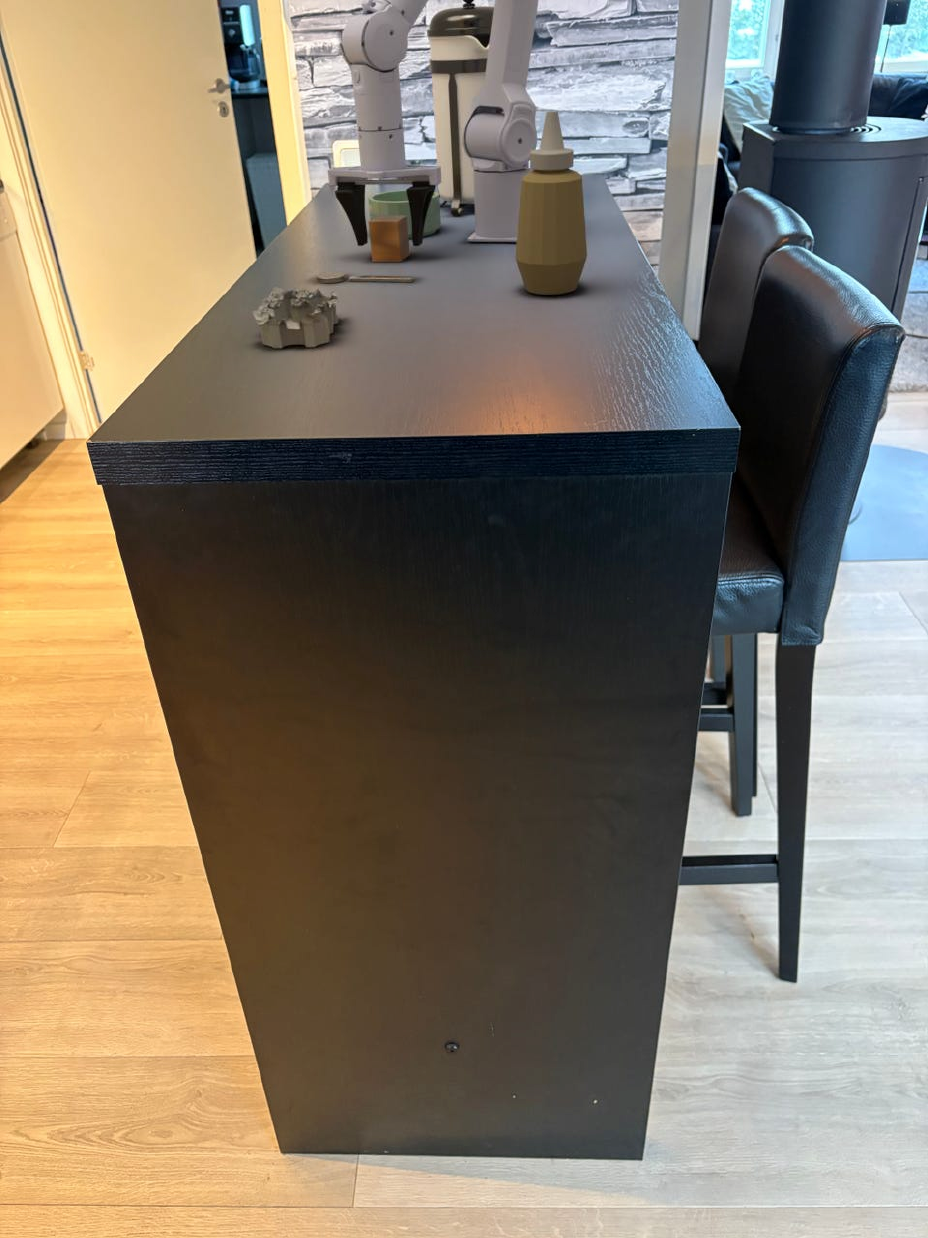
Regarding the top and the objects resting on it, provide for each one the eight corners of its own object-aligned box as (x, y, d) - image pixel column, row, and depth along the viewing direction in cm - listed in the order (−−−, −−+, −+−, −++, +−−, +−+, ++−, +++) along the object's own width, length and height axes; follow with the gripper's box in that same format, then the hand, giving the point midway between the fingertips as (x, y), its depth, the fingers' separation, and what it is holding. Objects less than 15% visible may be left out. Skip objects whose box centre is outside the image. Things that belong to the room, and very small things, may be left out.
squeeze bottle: (593, 282, 108) (598, 106, 99) (577, 300, 102) (581, 115, 92) (526, 279, 111) (525, 107, 101) (507, 297, 105) (503, 116, 95)
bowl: (448, 225, 141) (446, 189, 138) (430, 239, 132) (427, 201, 130) (384, 225, 143) (381, 189, 140) (362, 239, 135) (358, 202, 132)
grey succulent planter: (327, 349, 92) (321, 306, 90) (252, 350, 92) (245, 308, 90) (346, 317, 101) (341, 278, 98) (278, 319, 101) (272, 280, 99)
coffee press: (541, 200, 154) (541, -19, 137) (491, 218, 143) (485, -18, 126) (454, 195, 162) (444, -13, 146) (400, 212, 151) (383, -11, 135)
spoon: (417, 277, 114) (416, 272, 114) (408, 284, 112) (408, 279, 111) (323, 275, 117) (323, 270, 117) (312, 282, 114) (312, 277, 114)
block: (410, 255, 125) (407, 215, 122) (401, 262, 122) (397, 221, 119) (381, 254, 126) (378, 215, 123) (372, 261, 122) (368, 221, 120)
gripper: (313, 133, 114) (327, 250, 121) (427, 131, 110) (434, 251, 118) (334, 126, 119) (346, 239, 127) (443, 124, 116) (449, 239, 123)
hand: (390, 244), depth 123 cm, fingers open, 7 cm apart
